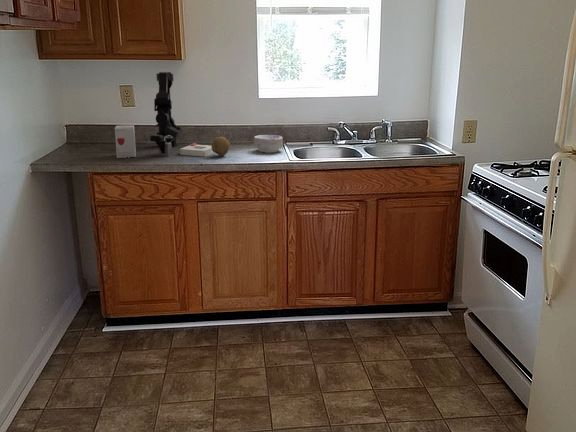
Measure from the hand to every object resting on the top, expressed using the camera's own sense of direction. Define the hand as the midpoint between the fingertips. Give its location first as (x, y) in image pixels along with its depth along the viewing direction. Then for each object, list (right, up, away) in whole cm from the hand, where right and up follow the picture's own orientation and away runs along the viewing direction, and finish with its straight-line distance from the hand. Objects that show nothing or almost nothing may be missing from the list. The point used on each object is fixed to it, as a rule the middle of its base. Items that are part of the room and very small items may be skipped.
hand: (165, 152), depth 281 cm
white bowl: (+52, +2, +13) cm, 54 cm away
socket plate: (+16, +1, +6) cm, 17 cm away
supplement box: (-19, -2, -3) cm, 19 cm away
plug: (0, -1, 0) cm, 1 cm away
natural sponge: (+28, -2, 0) cm, 28 cm away
